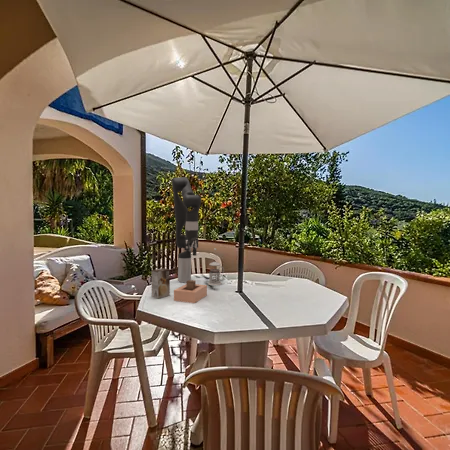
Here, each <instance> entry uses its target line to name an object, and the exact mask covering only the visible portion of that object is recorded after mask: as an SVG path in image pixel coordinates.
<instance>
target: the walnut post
mask: <svg viewBox="0 0 450 450" xmlns="http://www.w3.org/2000/svg"><path fill="white" fill-rule="evenodd" d="M185 284H186V290H190V291H193V290H194V289H196V284H197V283H196V280H194V279H193V280H192V279H191V280H188V281H187V282H186V283H185Z"/></svg>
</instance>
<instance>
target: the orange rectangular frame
mask: <svg viewBox="0 0 450 450" xmlns="http://www.w3.org/2000/svg"><path fill="white" fill-rule="evenodd" d="M207 295H208V284H207V285H206V284H197V283H196V289H194V290H193V291H190V290H186V283H185V284H183V285H182V286H180V287H178V288H175V289H174V290H173V301H174V302H175V301H176V302H181V303H182V302H183V303H189V304H190V303H191V304H195V303H197V302H199V301H200V300H202V299H203V298H205V297H206V296H207Z"/></svg>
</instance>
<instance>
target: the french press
mask: <svg viewBox="0 0 450 450" xmlns="http://www.w3.org/2000/svg"><path fill="white" fill-rule="evenodd" d="M213 250H214V251H217V248H215V247H214V248H213ZM208 265H209V266H212V267H218V268H212V269H211V268H210V269H209V273H208V275H209V276H208V278H209V280H208V283H207V285H210V286H221V285H222V282H221V277H222V276H223V275H224V274H225V268H224V267H223V266H221V265H222V264H221V263H220V262H216V261H212V262H210V263H209V264H208ZM221 268H222V273H221Z"/></svg>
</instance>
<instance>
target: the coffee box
mask: <svg viewBox="0 0 450 450" xmlns="http://www.w3.org/2000/svg"><path fill="white" fill-rule="evenodd" d="M170 272H171V270H170V269H169V268H164V267H163V268H157V269H152V270H151V272H150V273H151V298H154V299H163V298H166V297H169V296H170V294H171V293H170V292H171V289H170V287H171V285H170V284H171V283H170V282H171V280H170V279H171V278H170V277H171V276H170V275H171V273H170Z"/></svg>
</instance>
